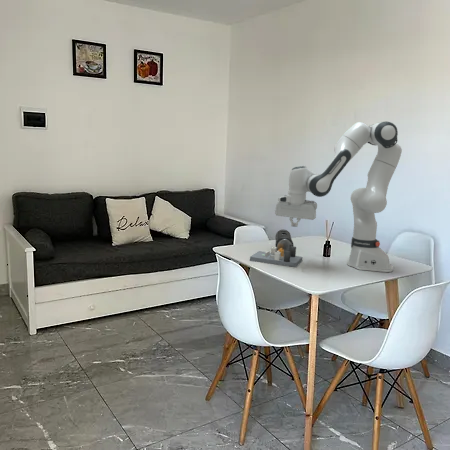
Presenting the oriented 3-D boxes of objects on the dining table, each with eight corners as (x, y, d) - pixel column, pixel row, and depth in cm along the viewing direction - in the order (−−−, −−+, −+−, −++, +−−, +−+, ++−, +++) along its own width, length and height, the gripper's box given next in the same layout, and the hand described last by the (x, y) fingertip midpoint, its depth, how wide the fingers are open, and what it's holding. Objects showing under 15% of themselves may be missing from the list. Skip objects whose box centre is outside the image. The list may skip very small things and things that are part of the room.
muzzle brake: (290, 246, 269) (291, 229, 267) (293, 257, 241) (294, 238, 239) (274, 245, 269) (275, 228, 268) (274, 256, 242) (276, 237, 240)
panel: (302, 260, 238) (303, 247, 237) (295, 267, 226) (296, 253, 224) (258, 254, 247) (259, 241, 246) (249, 260, 235) (250, 247, 233)
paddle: (283, 256, 237) (284, 248, 236) (281, 258, 233) (281, 249, 232) (279, 255, 238) (279, 247, 237) (276, 257, 234) (277, 249, 233)
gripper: (318, 200, 226) (316, 228, 229) (278, 196, 234) (276, 223, 236) (316, 201, 220) (313, 230, 223) (275, 197, 228) (273, 225, 231)
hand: (294, 226), depth 230 cm, fingers closed
